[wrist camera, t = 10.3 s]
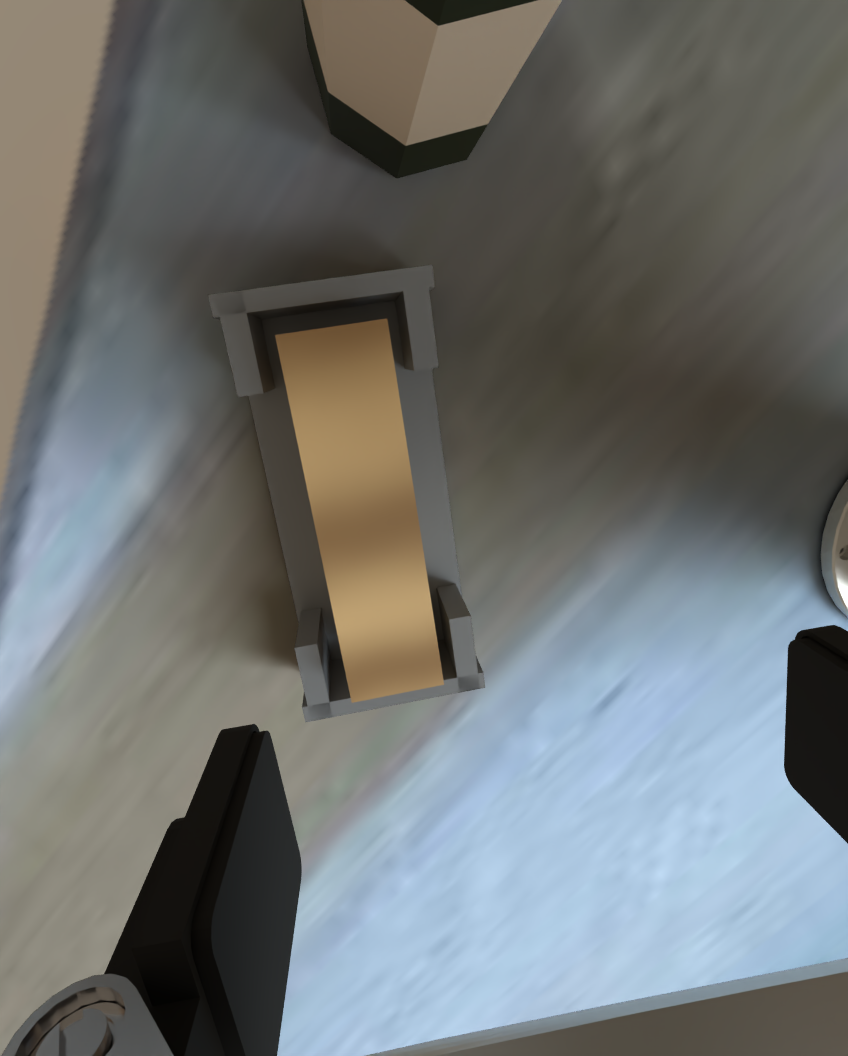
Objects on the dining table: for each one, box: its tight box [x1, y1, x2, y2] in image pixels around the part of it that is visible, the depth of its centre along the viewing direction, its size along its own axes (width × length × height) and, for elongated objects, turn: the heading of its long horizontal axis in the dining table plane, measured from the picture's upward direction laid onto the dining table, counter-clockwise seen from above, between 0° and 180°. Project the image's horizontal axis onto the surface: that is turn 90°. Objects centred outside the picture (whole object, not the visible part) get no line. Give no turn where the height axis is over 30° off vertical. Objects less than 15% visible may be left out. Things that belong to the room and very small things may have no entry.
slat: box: [275, 319, 444, 703], centre depth 26 cm, size 15×4×6 cm, turn 8°
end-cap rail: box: [208, 265, 485, 722], centre depth 27 cm, size 19×8×5 cm, turn 8°
